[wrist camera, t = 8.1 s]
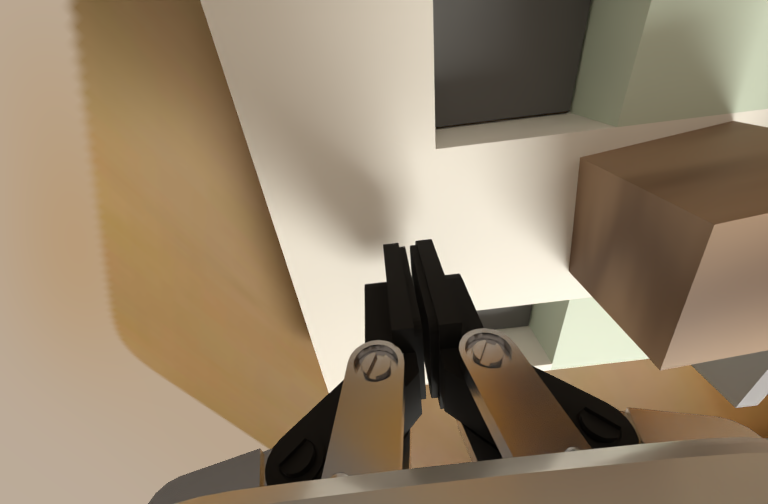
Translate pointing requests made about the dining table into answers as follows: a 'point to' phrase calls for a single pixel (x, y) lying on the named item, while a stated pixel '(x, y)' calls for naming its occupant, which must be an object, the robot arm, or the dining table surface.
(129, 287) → the dining table surface
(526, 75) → the tray
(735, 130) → the block
